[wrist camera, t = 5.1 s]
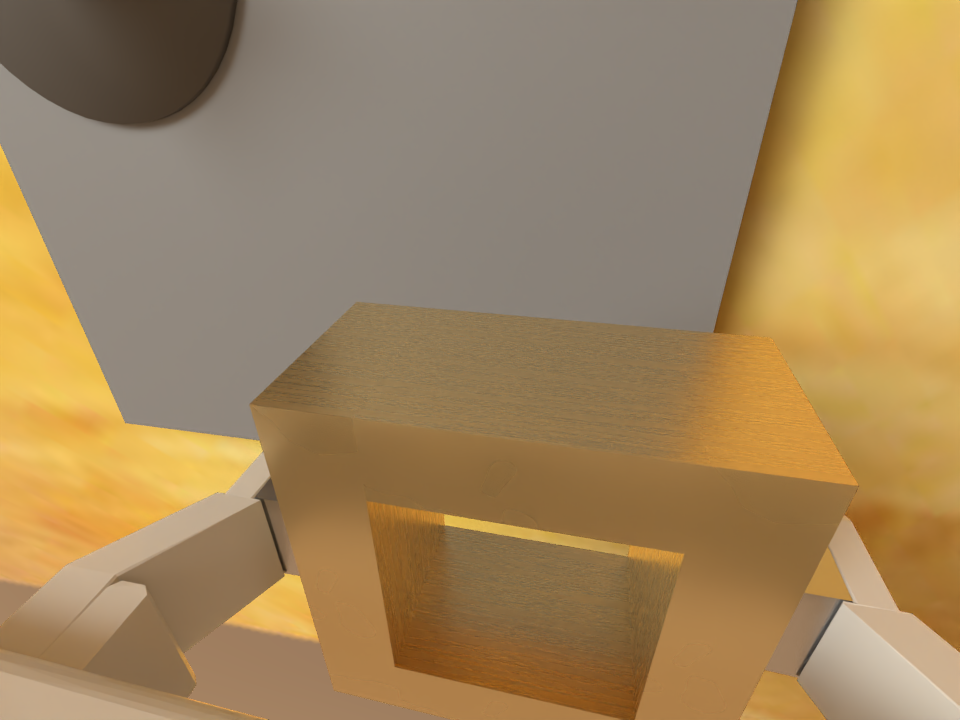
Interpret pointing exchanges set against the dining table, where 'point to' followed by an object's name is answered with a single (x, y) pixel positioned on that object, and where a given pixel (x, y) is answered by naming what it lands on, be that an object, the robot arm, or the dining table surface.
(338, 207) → the post board
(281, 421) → the wooden collar
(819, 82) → the dining table surface
